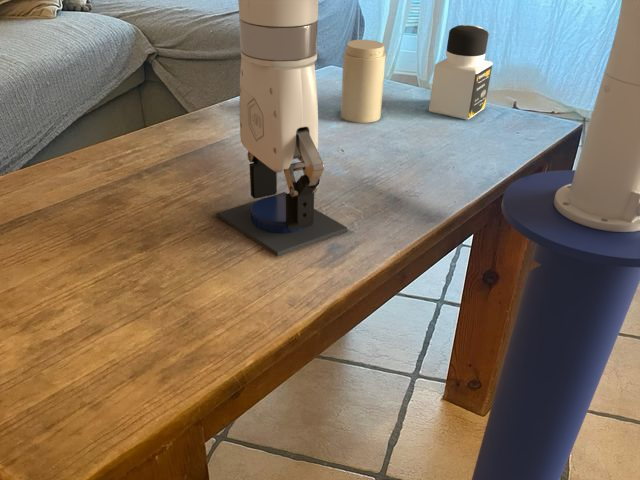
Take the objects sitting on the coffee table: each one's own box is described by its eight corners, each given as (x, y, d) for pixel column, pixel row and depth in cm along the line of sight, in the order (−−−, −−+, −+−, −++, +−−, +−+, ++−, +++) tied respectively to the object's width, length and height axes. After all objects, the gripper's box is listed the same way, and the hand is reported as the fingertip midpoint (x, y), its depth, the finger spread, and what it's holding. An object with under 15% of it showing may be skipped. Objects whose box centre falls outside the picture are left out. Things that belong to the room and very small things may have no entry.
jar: (388, 117, 106) (395, 45, 99) (359, 125, 102) (363, 52, 96) (362, 107, 109) (366, 36, 102) (332, 114, 106) (335, 42, 99)
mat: (347, 231, 76) (347, 227, 76) (277, 256, 71) (277, 252, 71) (284, 195, 83) (284, 191, 83) (217, 216, 78) (216, 212, 78)
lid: (241, 213, 78) (241, 202, 77) (293, 202, 80) (293, 191, 79) (267, 238, 73) (266, 226, 72) (321, 226, 76) (321, 214, 75)
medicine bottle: (468, 120, 105) (483, 35, 97) (427, 112, 108) (438, 28, 100) (484, 109, 110) (500, 26, 102) (445, 100, 113) (457, 19, 104)
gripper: (208, 24, 68) (221, 188, 80) (285, 68, 57) (286, 250, 69) (274, 18, 71) (276, 177, 83) (358, 58, 60) (347, 236, 72)
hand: (281, 210), depth 76 cm, fingers open, 8 cm apart
